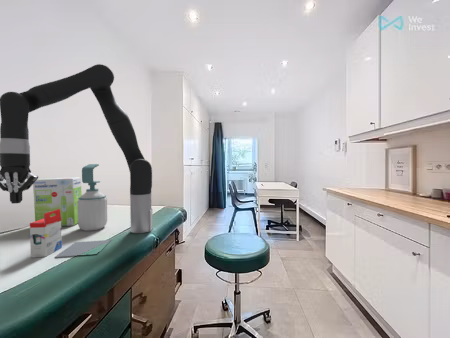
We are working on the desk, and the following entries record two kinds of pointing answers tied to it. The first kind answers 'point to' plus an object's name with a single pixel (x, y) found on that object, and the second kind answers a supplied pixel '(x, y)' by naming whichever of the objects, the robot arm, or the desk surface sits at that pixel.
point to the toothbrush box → (57, 198)
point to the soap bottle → (91, 203)
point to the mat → (80, 248)
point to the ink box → (46, 235)
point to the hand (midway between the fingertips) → (16, 203)
